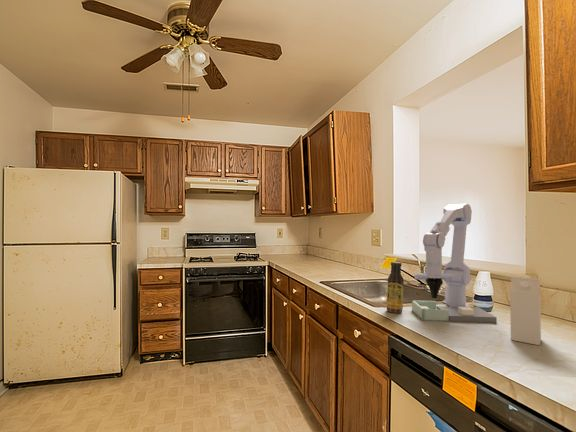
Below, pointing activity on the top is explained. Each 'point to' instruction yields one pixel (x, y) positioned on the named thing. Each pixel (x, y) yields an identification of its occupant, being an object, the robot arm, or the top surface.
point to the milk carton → (525, 310)
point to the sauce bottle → (395, 289)
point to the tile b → (465, 311)
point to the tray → (429, 311)
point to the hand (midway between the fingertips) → (434, 297)
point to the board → (477, 317)
